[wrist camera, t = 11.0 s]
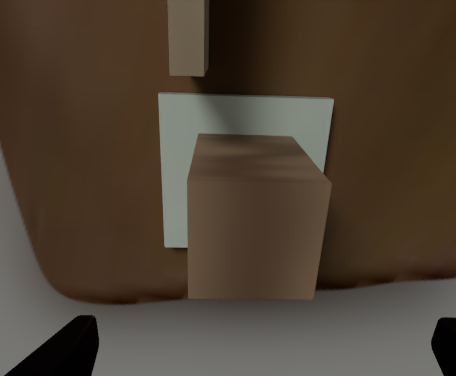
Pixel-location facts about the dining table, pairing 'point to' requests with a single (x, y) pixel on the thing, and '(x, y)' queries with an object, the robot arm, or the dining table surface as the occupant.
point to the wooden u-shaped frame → (188, 37)
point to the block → (254, 218)
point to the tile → (229, 124)
